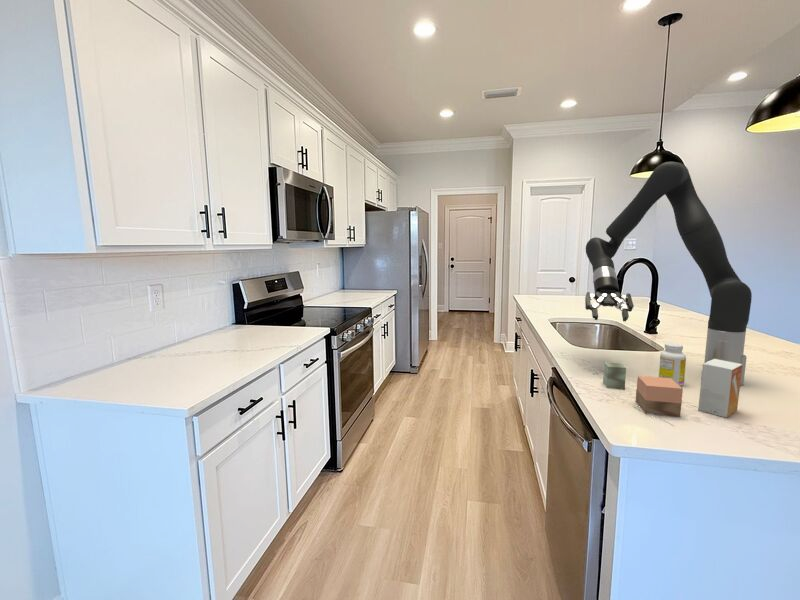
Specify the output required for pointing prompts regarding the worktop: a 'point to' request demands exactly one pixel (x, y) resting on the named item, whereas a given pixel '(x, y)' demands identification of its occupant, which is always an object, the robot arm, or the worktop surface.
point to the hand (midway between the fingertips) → (610, 319)
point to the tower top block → (659, 389)
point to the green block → (614, 375)
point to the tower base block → (658, 406)
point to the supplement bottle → (673, 363)
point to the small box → (720, 387)
